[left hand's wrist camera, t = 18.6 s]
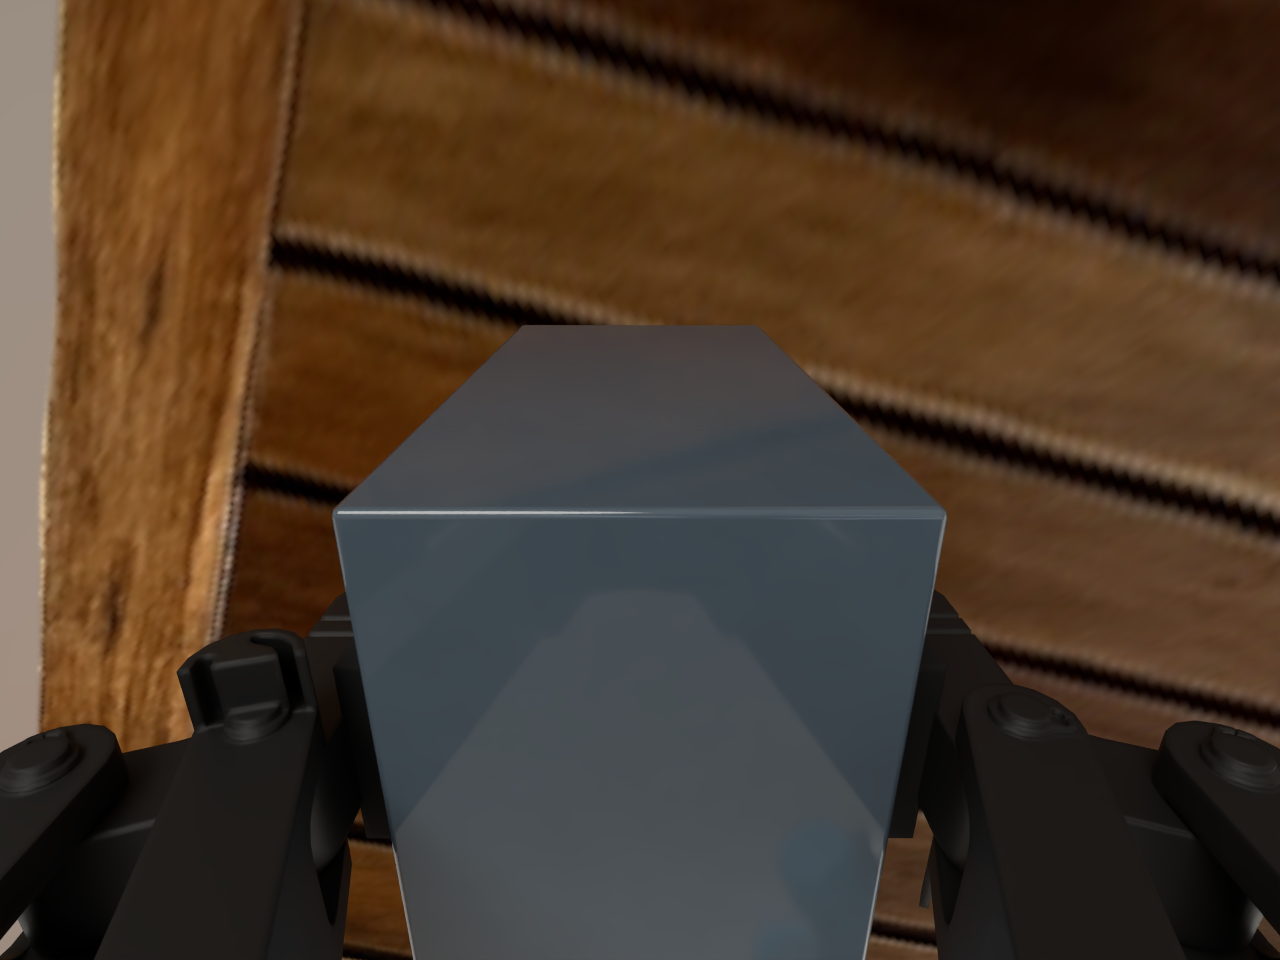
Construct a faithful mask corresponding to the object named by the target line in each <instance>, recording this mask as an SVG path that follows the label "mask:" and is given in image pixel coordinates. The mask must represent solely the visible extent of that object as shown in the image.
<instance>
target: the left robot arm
mask: <svg viewBox="0 0 1280 960" xmlns="http://www.w3.org/2000/svg"><path fill="white" fill-rule="evenodd" d="M177 675H178V679H179V682H180V685H181V688H182V692H183V695H184V698H185V701H186V705H187V708H188V711H189V714H190V718H191V721H192V724H193V727H194V732H193V735H192V737H191V738H187V739H184V740H180V741H176V742H172V743H167V744H163V745H158V746H153V747H149V748H144V749H139V750H135V751H130V752H125V753H122V752H121V749H120V746H119V744H118V741H117V738H116V735H115V734H114V733H113V732H112V731H110V730H109V729H108V728H106V727H105V726H101V725H93V724H79V725H72V726H66V727H59V728H56V729H52V730H49V731H46V732H44V733H43V732H42V733H39V734H37V735H34V736H31V737H29V738H27V739H25V740H24V741H22V742H20V743H18V744H16V745H14V746H12V747H10V748H8V749H6V750H4V751H2V752H1V753H0V940H1V939H2V937H3V936H4V935H5V934H6V933H7V931H8V930H9V929H10V928H11V926H12V925H13V924H14V923H15V922H16V920H17V919H18V921H19V923H20V925H21V927H22V929H23V932H22V933H21V934H20V936H19V937H18V938H17V939H16V941H15V942H14V943H13V944H12V945H11V946H10V947H9V948H8V949H7V950H6V951H5V952H4V953H3V954H2V955H1V956H0V960H342V951H343V942H344V932H345V923H346V914H347V904H348V895H349V886H350V877H351V867H352V862H351V856H350V849H349V845H348V840H347V835H348V833H349V831H350V828H351V826H352V824H353V822H354V820H355V818H356V816H357V813H358V811H359V809H360V807H361V812H362V817H363V822H364V826H365V831H366V836H367V838H391V834H390V829H389V823H388V818H387V813H386V807H385V802H384V796H383V791H382V786H381V780H380V775H379V769H378V764H377V758H376V753H375V748H374V742H373V737H372V731H371V726H370V721H369V715H368V710H367V704H366V699H365V693H364V688H363V683H362V677H361V672H360V666H359V661H358V656H357V650H356V645H355V639H354V634H353V628H352V623H351V618H350V612H349V607H348V601H347V596H346V592H345V593H343V594H342V595H340V596H338V597H337V598H336V599H335V600H334V601H333V603H332V604H331V605H330V607H329V608H328V609H327V610H326V612H325V613H324V614H323V616H322V617H321V621H318V622H317V623H316V624H315V626H314V627H313V628H312V630H311V631H310V632H309V637H305V639H304V640H303V639H302V638H301V637H299V636H298V635H297V634H296V633H294V632H291V631H286V630H282V629H277V628H276V629H257V630H251V631H247V632H243V633H239V634H234V635H231V636H228V637H226V638H223V639H221V640H219V641H216V642H214V643H211V644H209V645H207V646H206V647H204V648H203V649H201V650H200V651H198V652H197V653H195V654H193V655H192V656H190V657H189V658H188V659H187V660H186V661H185V662H184V664H183V665H182V666H181V667H180V668H179V669H178V671H177ZM919 805H920V807H921V809H922V811H923V813H924V815H925V817H926V819H927V822H928V824H929V826H930V828H931V830H932V832H933V834H934V836H933V840H932V845H931V849H930V854H929V858H928V863H927V868H926V872H925V877H924V881H923V886H922V891H921V897H920V903H919V906H920V907H924V908H929V903H930V899H931V894H932V903H933V912H934V921H935V930H936V940H937V949H938V958H939V960H1280V953H1279V952H1278V951H1277V950H1276V949H1275V948H1274V947H1273V946H1272V945H1271V944H1270V943H1269V942H1268V941H1267V939H1266V938H1265V937H1264V936H1263V934H1262V933H1261V932H1260V931H1259V929H1258V926H1259V924H1260V922H1261V920H1262V917H1263V916H1264V917H1265V918H1266V920H1267V921H1268V922H1269V923H1270V924H1271V926H1272V927H1273V928H1274V929H1275V930H1276V932H1277V933H1278V934H1279V935H1280V749H1279V748H1277V747H1275V746H1273V745H1271V744H1269V743H1267V742H1265V741H1263V740H1261V739H1259V738H1257V737H1255V736H1254V735H1252V734H1250V733H1247V732H1244V731H1242V730H1239V729H1238V730H1237V729H1234V728H1233V727H1229V726H1225V725H1221V724H1215V723H1209V722H1202V721H1187V722H1179V723H1175V724H1174V725H1173V726H1171V727H1170V728H1169V729H1167V730H1166V731H1165V734H1164V736H1163V739H1162V742H1161V745H1160V747H1159V750H1155V749H1150V748H1145V747H1141V746H1136V745H1131V744H1127V743H1122V742H1117V741H1113V740H1108V739H1103V738H1099V737H1096V736H1092V735H1089V734H1088V733H1087V731H1086V729H1085V728H1084V726H1083V725H1082V724H1081V722H1080V721H1079V720H1078V718H1077V717H1076V715H1075V714H1074V713H1072V712H1071V711H1070V710H1068V709H1067V708H1066V707H1064V706H1063V705H1062V704H1061V703H1059V702H1058V701H1057V700H1054V699H1052V698H1050V697H1048V696H1046V695H1044V694H1042V693H1040V692H1038V691H1036V690H1033V689H1029V688H1026V687H1022V686H1018V685H1014V684H1013V683H1012V682H1011V680H1010V679H1009V678H1008V677H1007V675H1006V674H1005V673H1004V672H1003V670H1002V669H1001V668H1000V666H999V665H998V664H997V663H996V661H995V660H994V659H993V658H992V656H991V655H990V654H989V652H988V651H987V650H986V649H985V647H984V646H983V645H982V644H981V642H980V641H979V640H978V639H977V637H976V636H975V635H974V634H971V630H970V628H969V627H968V626H967V625H966V623H965V622H964V621H963V619H962V618H959V614H958V613H957V612H956V611H955V609H954V608H953V607H952V606H951V604H950V603H949V602H948V600H947V599H946V598H945V597H944V596H943V595H942V594H940V593H939V592H937V591H936V590H934V592H933V598H932V603H931V609H930V614H929V619H928V625H927V630H926V636H925V641H924V646H923V652H922V657H921V663H920V668H919V673H918V679H917V684H916V690H915V695H914V701H913V706H912V711H911V717H910V722H909V728H908V733H907V738H906V744H905V749H904V755H903V760H902V765H901V771H900V776H899V782H898V787H897V793H896V798H895V803H894V809H893V814H892V820H891V825H890V830H889V836H888V838H913V834H914V829H915V824H916V819H917V814H918V809H919Z"/></svg>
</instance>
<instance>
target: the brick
mask: <svg viewBox="0 0 1280 960" xmlns="http://www.w3.org/2000/svg"><path fill="white" fill-rule="evenodd" d="M332 520H333V526H334V531H335V536H336V542H337V547H338V553H339V558H340V563H341V569H342V574H343V580H344V585H345V591H346V596H347V601H348V607H349V612H350V618H351V623H352V628H353V634H354V639H355V645H356V650H357V656H358V661H359V666H360V672H361V677H362V683H363V688H364V693H365V699H366V704H367V710H368V715H369V721H370V726H371V731H372V737H373V742H374V748H375V753H376V758H377V764H378V769H379V775H380V780H381V786H382V791H383V796H384V802H385V807H386V813H387V818H388V823H389V829H390V834H391V840H392V845H393V851H394V856H395V861H396V867H397V872H398V878H399V883H400V888H401V894H402V899H403V905H404V910H405V915H406V921H407V926H408V932H409V937H410V943H411V948H412V953H413V959H414V960H866V955H867V949H868V944H869V939H870V933H871V928H872V922H873V917H874V912H875V906H876V901H877V895H878V890H879V885H880V879H881V874H882V868H883V863H884V857H885V852H886V847H887V841H888V836H889V830H890V825H891V820H892V814H893V809H894V803H895V798H896V793H897V787H898V782H899V776H900V771H901V765H902V760H903V755H904V749H905V744H906V738H907V733H908V728H909V722H910V717H911V711H912V706H913V701H914V695H915V690H916V684H917V679H918V673H919V668H920V663H921V657H922V652H923V646H924V641H925V636H926V630H927V625H928V619H929V614H930V609H931V603H932V598H933V592H934V587H935V581H936V576H937V571H938V565H939V560H940V554H941V549H942V544H943V538H944V533H945V527H946V522H947V514H946V510H945V508H944V507H943V506H942V505H941V504H940V503H939V502H938V501H937V500H936V499H935V498H934V497H932V496H931V495H930V494H929V493H928V492H927V491H926V490H925V489H924V488H923V487H922V486H921V485H920V484H919V483H918V482H917V481H916V480H915V479H914V478H913V477H912V476H911V475H910V474H909V473H908V472H907V471H906V470H905V469H904V468H903V467H902V466H901V465H900V464H899V463H898V462H897V461H896V460H895V459H894V458H893V457H892V456H891V455H890V454H889V453H888V452H887V451H885V450H884V449H883V448H882V447H881V446H880V445H879V444H878V443H877V442H876V441H875V440H874V439H873V438H872V437H871V436H870V435H869V434H868V433H867V432H866V431H865V430H864V429H863V428H862V427H861V426H860V425H859V424H858V423H857V422H856V421H855V420H854V419H853V418H852V417H851V416H850V415H849V414H848V413H847V412H846V411H845V410H844V409H843V408H842V407H841V406H840V405H838V404H837V403H836V402H835V401H834V400H833V399H832V398H831V397H830V396H829V395H828V394H827V393H826V392H825V391H824V390H823V389H822V388H821V387H820V386H819V385H818V384H817V383H816V382H815V381H814V380H813V379H812V378H811V377H810V376H809V375H808V374H807V373H806V372H805V371H804V370H803V369H802V368H801V367H800V366H799V365H798V364H797V363H796V362H795V361H794V360H793V359H791V358H790V357H789V356H788V355H787V354H786V353H785V352H784V351H783V350H782V349H781V348H780V347H779V346H778V345H777V344H776V343H775V342H774V341H773V340H772V339H771V338H770V337H769V336H768V335H767V334H766V333H765V332H764V331H763V330H762V329H761V328H760V327H759V326H756V325H524V326H522V327H520V328H519V329H518V330H517V331H516V332H515V333H514V334H513V335H512V336H511V337H510V338H509V339H508V340H507V341H506V342H505V343H504V344H503V345H502V346H501V347H500V348H499V349H498V350H497V351H496V352H495V353H494V354H493V355H492V356H491V357H490V358H489V359H488V360H487V361H485V362H484V363H483V364H482V365H481V366H480V367H479V368H478V369H477V370H476V371H475V372H474V373H473V374H472V375H471V376H470V377H469V378H468V379H467V380H466V381H465V382H464V383H463V384H462V385H461V386H460V387H459V388H458V389H457V390H456V391H455V392H454V393H453V394H452V395H450V396H449V397H448V398H447V399H446V400H445V401H444V402H443V403H442V404H441V405H440V406H439V407H438V408H437V409H436V410H435V411H434V412H433V413H432V414H431V415H430V416H429V417H428V418H427V419H426V420H425V421H424V422H423V423H422V424H421V425H420V426H419V427H418V428H417V429H416V430H414V431H413V432H412V433H411V434H410V435H409V436H408V437H407V438H406V439H405V440H404V441H403V442H402V443H401V444H400V445H399V446H398V447H397V448H396V449H395V450H394V451H393V452H392V453H391V454H390V455H389V456H388V457H387V458H386V459H385V460H384V461H383V462H382V463H381V464H379V465H378V466H377V467H376V468H375V469H374V470H373V471H372V472H371V473H370V474H369V475H368V476H367V477H366V478H365V479H364V480H363V481H362V482H361V483H360V484H359V485H358V486H357V487H356V488H355V489H354V490H353V491H352V492H351V493H350V494H349V495H348V496H347V497H346V498H345V499H343V500H342V501H341V502H340V503H339V504H338V505H337V506H336V507H335V508H334V511H333V514H332Z"/></svg>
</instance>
